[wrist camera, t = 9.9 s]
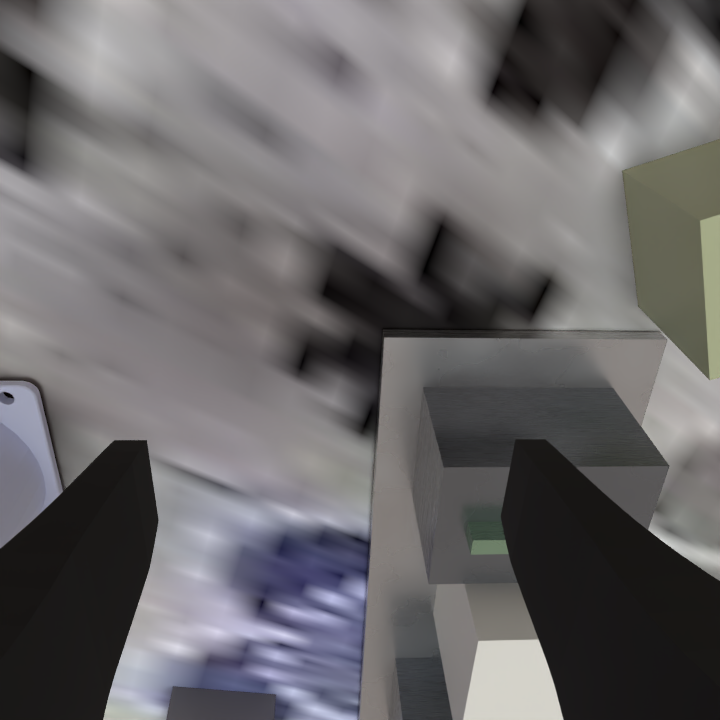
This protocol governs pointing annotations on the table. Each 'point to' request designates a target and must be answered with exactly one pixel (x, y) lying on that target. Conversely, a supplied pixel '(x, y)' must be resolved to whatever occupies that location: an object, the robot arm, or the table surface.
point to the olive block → (679, 248)
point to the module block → (492, 654)
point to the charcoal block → (219, 705)
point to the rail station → (483, 474)
